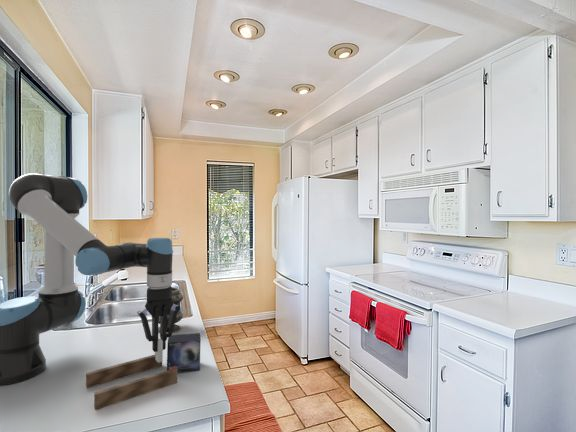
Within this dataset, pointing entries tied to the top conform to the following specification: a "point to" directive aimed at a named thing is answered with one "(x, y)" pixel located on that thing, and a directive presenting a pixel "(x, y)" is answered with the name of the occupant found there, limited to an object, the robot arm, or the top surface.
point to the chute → (131, 387)
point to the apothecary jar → (176, 300)
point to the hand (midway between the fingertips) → (158, 360)
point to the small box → (184, 352)
